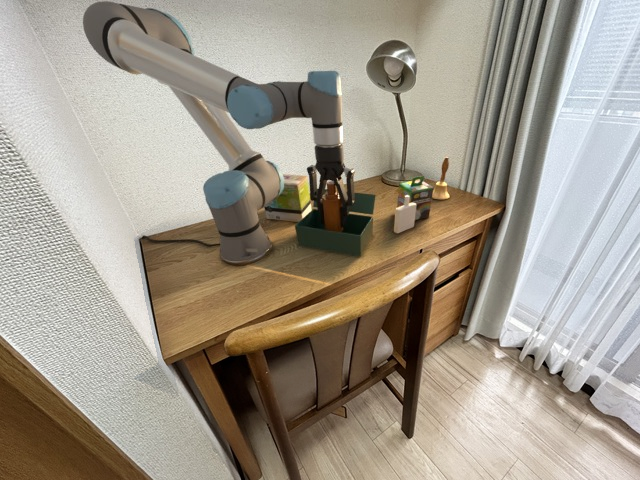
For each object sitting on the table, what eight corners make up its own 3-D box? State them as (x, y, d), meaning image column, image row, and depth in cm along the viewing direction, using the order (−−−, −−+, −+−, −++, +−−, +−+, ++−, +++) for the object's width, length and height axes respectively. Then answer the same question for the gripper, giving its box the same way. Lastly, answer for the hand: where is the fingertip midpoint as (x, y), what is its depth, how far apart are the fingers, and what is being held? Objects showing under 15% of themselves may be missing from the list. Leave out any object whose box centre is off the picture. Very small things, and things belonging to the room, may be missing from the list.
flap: (314, 188, 87) (315, 188, 87) (313, 206, 88) (313, 207, 89) (375, 194, 81) (375, 194, 81) (372, 214, 82) (373, 214, 82)
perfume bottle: (410, 224, 92) (414, 192, 85) (414, 226, 91) (418, 194, 84) (393, 231, 89) (395, 198, 82) (397, 234, 88) (400, 200, 80)
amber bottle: (321, 232, 81) (317, 185, 72) (329, 223, 86) (326, 178, 77) (339, 235, 80) (337, 187, 71) (346, 226, 84) (344, 180, 75)
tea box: (266, 220, 99) (256, 181, 90) (278, 208, 107) (270, 172, 98) (303, 223, 96) (297, 183, 87) (312, 211, 104) (307, 174, 95)
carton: (298, 245, 84) (294, 225, 79) (315, 227, 93) (313, 208, 89) (360, 257, 77) (360, 236, 73) (372, 236, 87) (373, 216, 83)
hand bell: (445, 191, 116) (452, 154, 106) (452, 199, 109) (460, 159, 99) (426, 192, 115) (432, 155, 106) (433, 200, 108) (439, 160, 99)
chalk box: (416, 207, 103) (421, 169, 95) (430, 217, 96) (436, 177, 88) (395, 212, 101) (398, 173, 92) (408, 222, 94) (412, 181, 85)
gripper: (368, 143, 68) (366, 222, 82) (303, 139, 73) (312, 214, 87) (358, 150, 62) (358, 234, 76) (289, 145, 68) (301, 224, 82)
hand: (333, 223), depth 82 cm, fingers closed on amber bottle, 6 cm apart
